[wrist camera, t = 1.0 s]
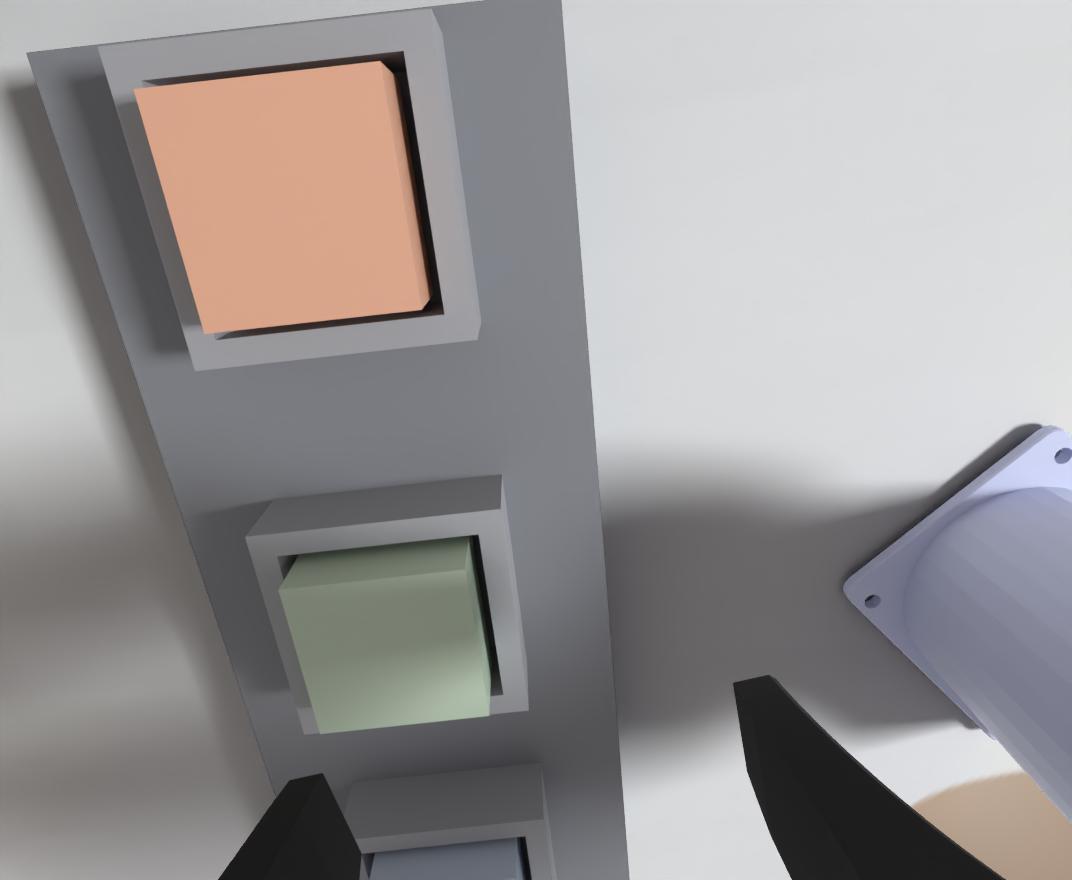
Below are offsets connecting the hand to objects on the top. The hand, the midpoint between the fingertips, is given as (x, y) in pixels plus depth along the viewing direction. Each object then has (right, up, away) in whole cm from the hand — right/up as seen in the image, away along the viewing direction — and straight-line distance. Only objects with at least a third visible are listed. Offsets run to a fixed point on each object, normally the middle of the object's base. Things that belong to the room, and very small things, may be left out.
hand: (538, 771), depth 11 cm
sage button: (-4, +1, +6) cm, 7 cm away
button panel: (-4, +3, +9) cm, 10 cm away
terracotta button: (-5, +11, +2) cm, 12 cm away
